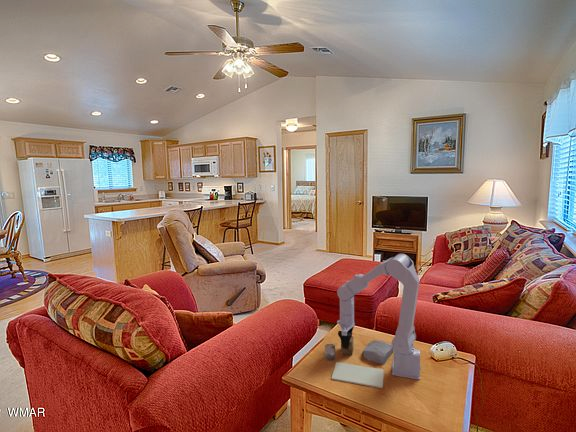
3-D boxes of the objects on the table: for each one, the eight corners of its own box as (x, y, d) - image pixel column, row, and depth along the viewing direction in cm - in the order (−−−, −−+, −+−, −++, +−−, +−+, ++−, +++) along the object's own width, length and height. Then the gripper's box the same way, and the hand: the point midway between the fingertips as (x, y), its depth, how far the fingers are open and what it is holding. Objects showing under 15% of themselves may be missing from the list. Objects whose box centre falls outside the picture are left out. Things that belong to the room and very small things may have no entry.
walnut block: (353, 349, 135) (353, 336, 134) (352, 355, 131) (351, 342, 130) (342, 348, 136) (342, 335, 136) (341, 353, 132) (340, 340, 131)
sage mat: (383, 370, 120) (383, 369, 120) (382, 388, 111) (382, 387, 111) (336, 363, 126) (336, 361, 126) (331, 379, 117) (331, 378, 117)
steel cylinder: (336, 355, 131) (335, 344, 130) (334, 361, 127) (334, 349, 127) (326, 354, 132) (326, 343, 132) (324, 359, 129) (324, 348, 128)
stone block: (361, 362, 129) (385, 365, 123) (359, 350, 129) (383, 353, 123) (373, 349, 139) (395, 352, 133) (371, 338, 139) (393, 340, 133)
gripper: (340, 303, 139) (340, 332, 141) (333, 319, 125) (334, 351, 128) (356, 305, 137) (356, 335, 139) (352, 321, 123) (352, 353, 125)
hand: (347, 343), depth 133 cm, fingers open, 7 cm apart
